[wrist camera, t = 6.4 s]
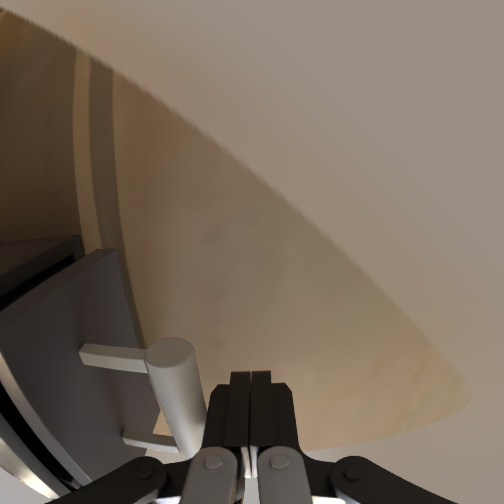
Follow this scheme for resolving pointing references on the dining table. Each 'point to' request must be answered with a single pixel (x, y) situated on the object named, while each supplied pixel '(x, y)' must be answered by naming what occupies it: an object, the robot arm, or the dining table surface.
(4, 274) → the cabinet
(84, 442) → the drawer
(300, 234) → the dining table surface
